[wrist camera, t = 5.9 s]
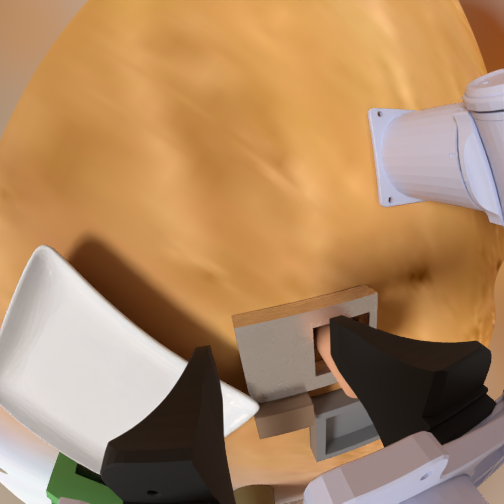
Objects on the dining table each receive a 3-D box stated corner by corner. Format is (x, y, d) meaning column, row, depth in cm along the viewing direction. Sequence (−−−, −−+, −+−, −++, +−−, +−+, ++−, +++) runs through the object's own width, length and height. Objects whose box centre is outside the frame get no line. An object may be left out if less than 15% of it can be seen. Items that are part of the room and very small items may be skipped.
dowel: (353, 305, 24) (397, 345, 17) (350, 343, 25) (388, 388, 18) (310, 313, 23) (346, 360, 17) (310, 353, 24) (340, 404, 18)
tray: (386, 371, 27) (398, 384, 24) (378, 422, 29) (386, 435, 27) (308, 398, 26) (316, 415, 23) (310, 447, 28) (316, 462, 26)
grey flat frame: (365, 284, 24) (377, 292, 22) (364, 358, 26) (373, 369, 24) (231, 315, 22) (234, 328, 20) (248, 390, 24) (251, 405, 22)
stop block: (301, 380, 25) (313, 404, 22) (303, 401, 26) (314, 425, 22) (248, 392, 24) (255, 419, 21) (253, 413, 25) (259, 439, 22)
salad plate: (59, 227, 18) (37, 237, 15) (260, 384, 24) (267, 409, 21) (-7, 373, 20) (-20, 390, 17) (140, 472, 26) (138, 493, 23)
